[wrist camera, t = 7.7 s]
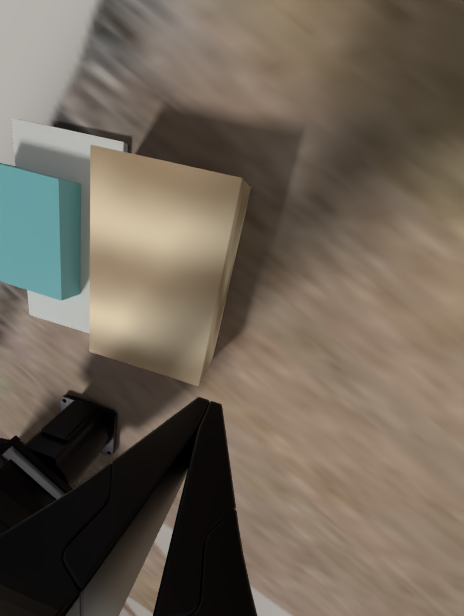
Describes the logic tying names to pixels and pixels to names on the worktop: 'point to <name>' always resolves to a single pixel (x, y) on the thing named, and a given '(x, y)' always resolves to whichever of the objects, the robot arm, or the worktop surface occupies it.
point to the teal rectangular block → (40, 232)
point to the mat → (76, 167)
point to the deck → (160, 260)
